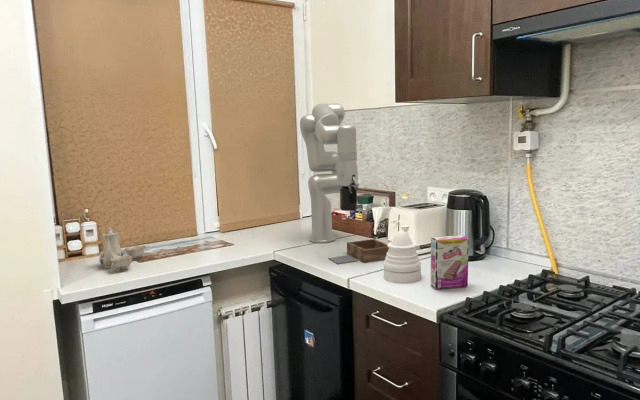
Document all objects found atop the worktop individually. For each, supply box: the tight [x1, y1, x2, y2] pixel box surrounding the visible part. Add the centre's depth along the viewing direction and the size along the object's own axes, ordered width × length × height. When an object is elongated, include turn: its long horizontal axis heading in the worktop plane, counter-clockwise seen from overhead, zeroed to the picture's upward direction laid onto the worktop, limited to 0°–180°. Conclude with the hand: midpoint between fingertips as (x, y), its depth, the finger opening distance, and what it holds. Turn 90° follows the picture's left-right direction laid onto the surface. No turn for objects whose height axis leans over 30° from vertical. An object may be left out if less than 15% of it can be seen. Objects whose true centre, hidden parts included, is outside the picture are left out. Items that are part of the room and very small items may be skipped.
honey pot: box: [383, 224, 422, 284], centre depth 169 cm, size 13×13×18 cm
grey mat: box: [328, 254, 359, 265], centre depth 196 cm, size 9×9×1 cm
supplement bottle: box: [339, 184, 358, 212], centre depth 193 cm, size 7×7×12 cm
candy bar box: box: [430, 235, 470, 290], centre depth 157 cm, size 11×5×16 cm, turn 99°
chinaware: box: [98, 227, 146, 272], centre depth 201 cm, size 28×17×17 cm, turn 9°
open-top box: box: [346, 238, 389, 264], centre depth 200 cm, size 16×13×5 cm
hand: (348, 201), depth 194 cm, fingers closed on supplement bottle, 6 cm apart
